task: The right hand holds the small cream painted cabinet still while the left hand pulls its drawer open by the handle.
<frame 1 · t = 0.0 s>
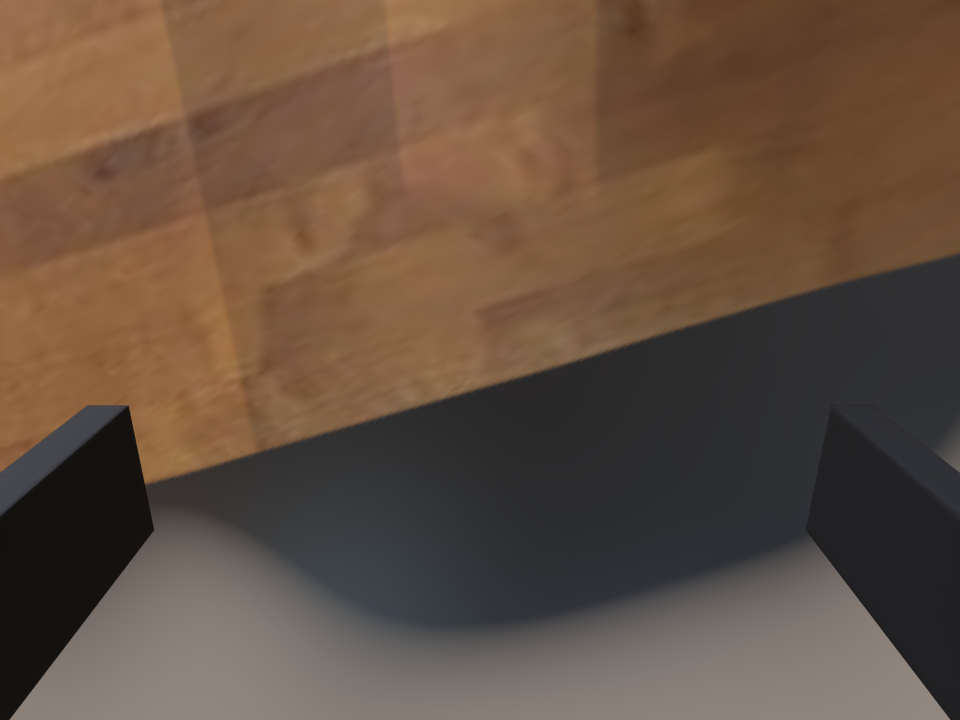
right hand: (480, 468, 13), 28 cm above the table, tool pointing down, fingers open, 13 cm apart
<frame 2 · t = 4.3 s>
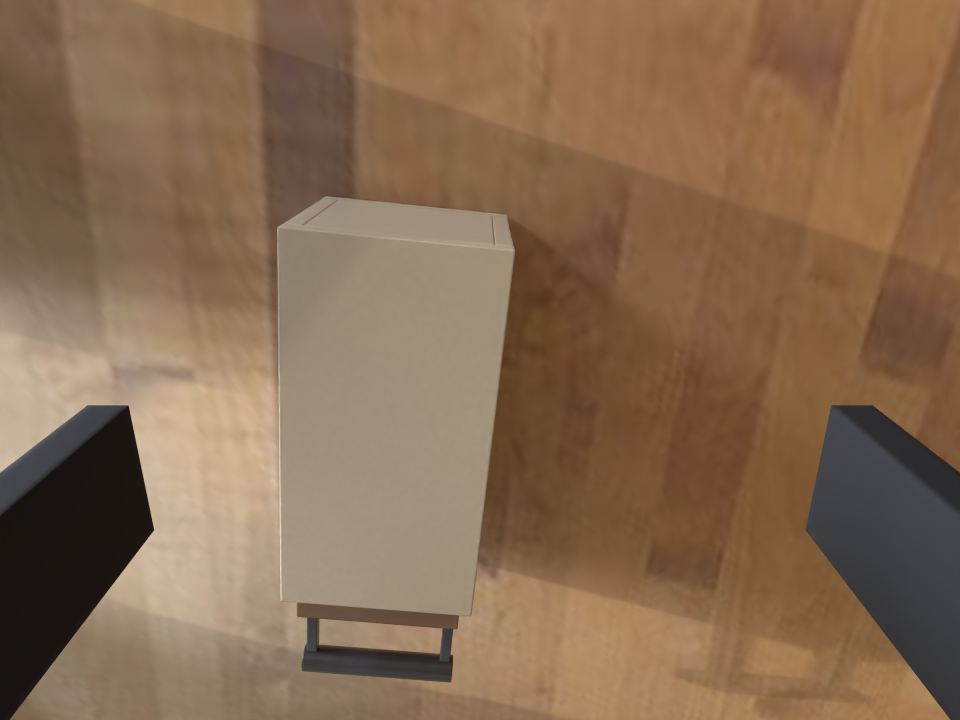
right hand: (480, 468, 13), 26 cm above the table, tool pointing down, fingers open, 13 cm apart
cabinet: (405, 369, 40), on the table
drawer: (391, 486, 38), point 5 cm above the table, slide at 0.6 cm
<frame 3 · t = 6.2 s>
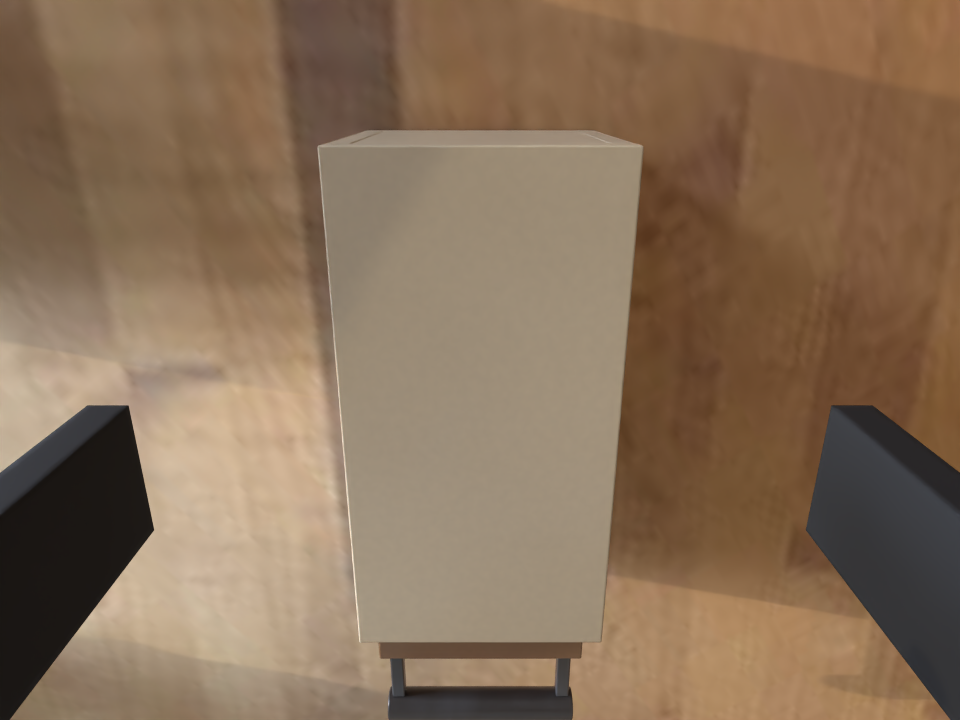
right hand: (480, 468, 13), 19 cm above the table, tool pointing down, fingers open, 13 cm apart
cabinet: (480, 341, 33), on the table
drawer: (480, 486, 30), point 5 cm above the table, slide at 0.6 cm
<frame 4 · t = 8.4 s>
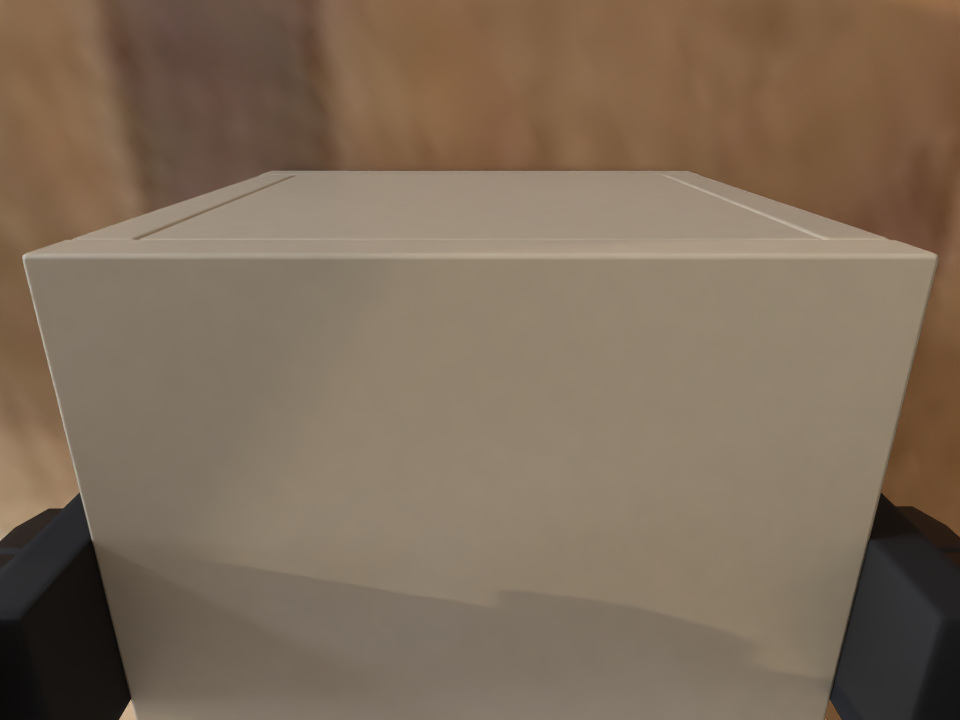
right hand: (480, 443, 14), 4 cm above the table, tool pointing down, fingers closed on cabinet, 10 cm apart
cabinet: (480, 519, 19), on the table, touching right hand
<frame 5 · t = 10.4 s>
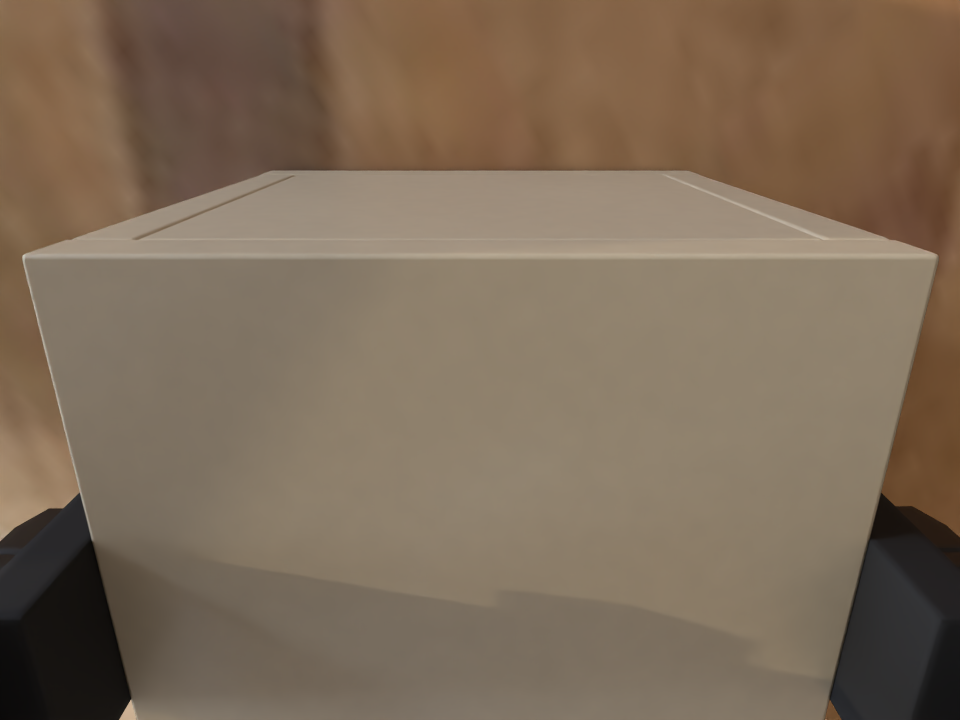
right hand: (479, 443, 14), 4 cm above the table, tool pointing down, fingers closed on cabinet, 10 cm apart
cabinet: (480, 518, 19), on the table, touching right hand
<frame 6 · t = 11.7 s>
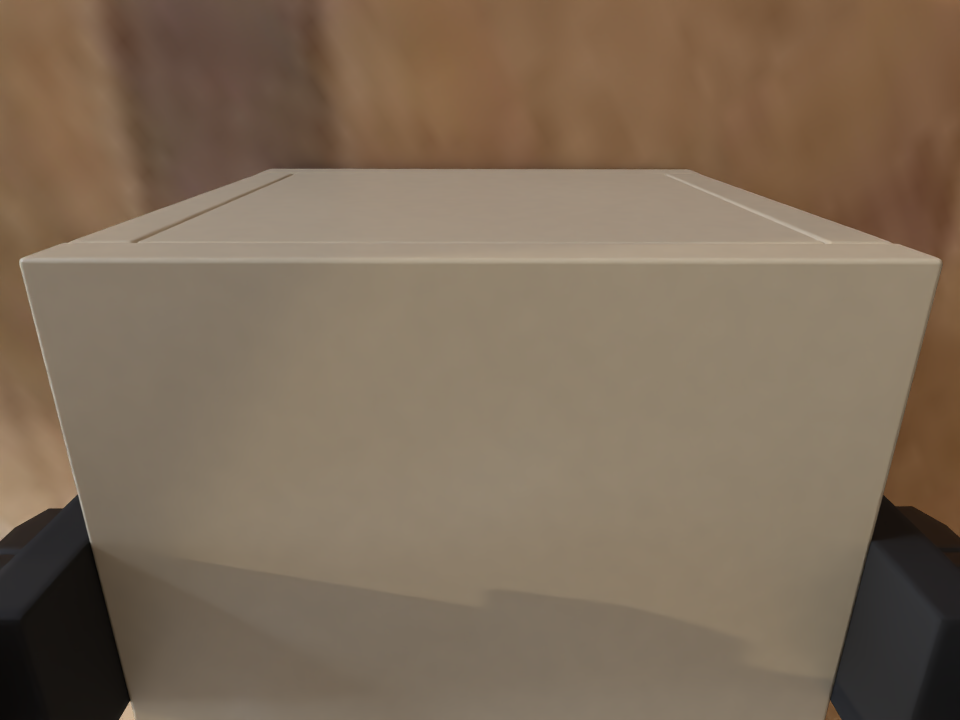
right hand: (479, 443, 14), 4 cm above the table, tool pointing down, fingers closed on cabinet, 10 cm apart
cabinet: (479, 517, 19), on the table, touching right hand
when the right hand's fingers open (4 cm above the table, at t = 13.4 s): cabinet stays where it is, on the table.
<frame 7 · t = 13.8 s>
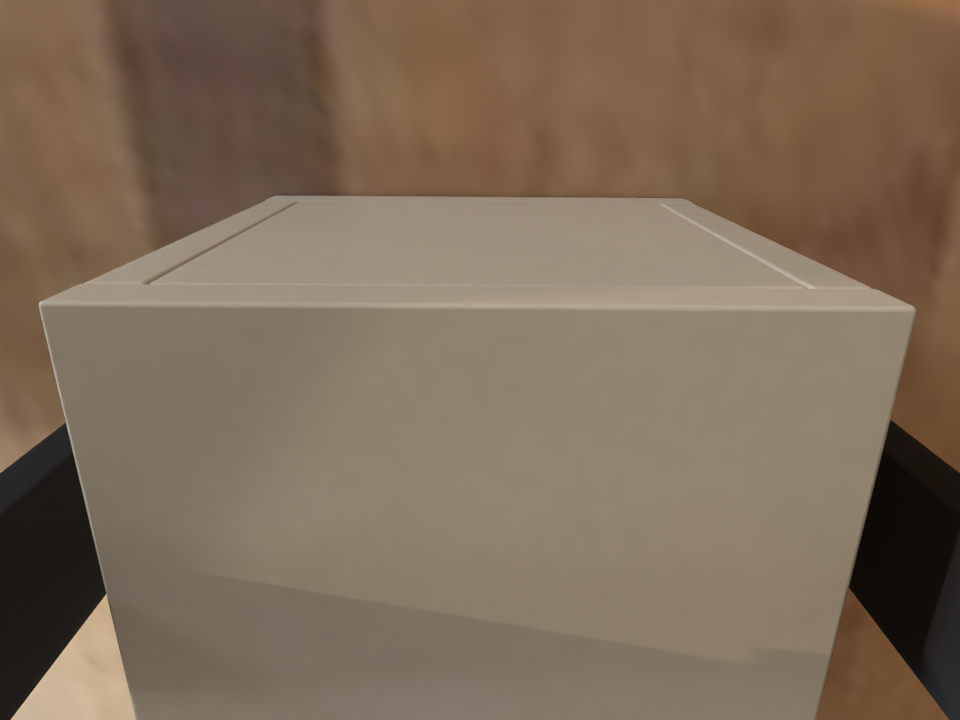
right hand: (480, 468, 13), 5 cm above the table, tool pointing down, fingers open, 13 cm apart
cabinet: (477, 535, 20), on the table
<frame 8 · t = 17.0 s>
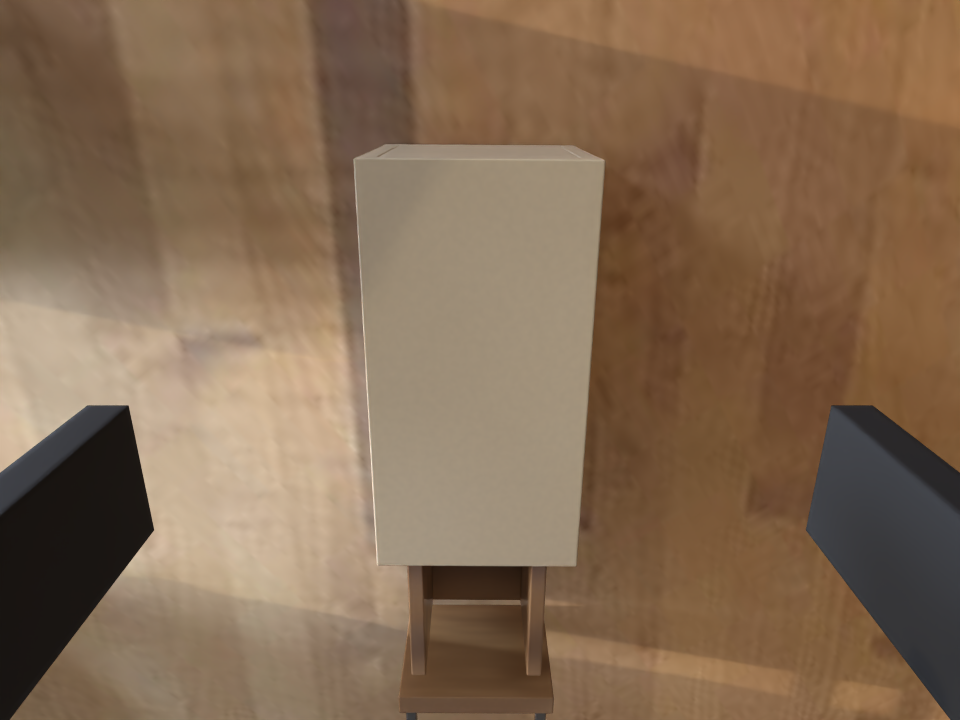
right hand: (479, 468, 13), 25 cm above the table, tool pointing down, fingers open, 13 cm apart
cabinet: (478, 322, 38), on the table
drawer: (476, 579, 39), point 5 cm above the table, slide at 9.6 cm
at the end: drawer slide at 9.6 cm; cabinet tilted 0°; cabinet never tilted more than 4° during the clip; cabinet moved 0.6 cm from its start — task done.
